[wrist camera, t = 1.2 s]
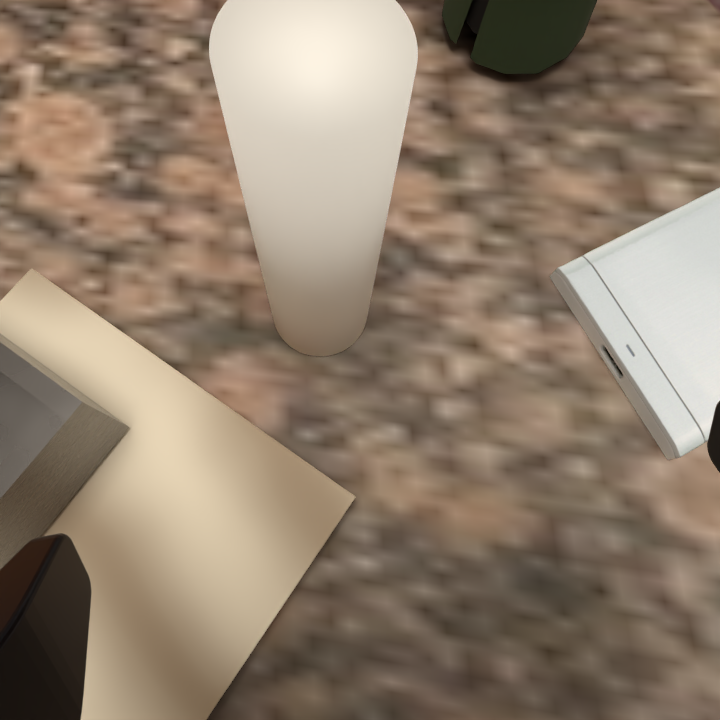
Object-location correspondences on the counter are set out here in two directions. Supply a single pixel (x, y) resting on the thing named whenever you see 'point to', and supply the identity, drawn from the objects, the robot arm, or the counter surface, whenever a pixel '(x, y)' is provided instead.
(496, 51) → the character mug
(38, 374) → the cup bracket
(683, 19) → the counter surface
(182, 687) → the mounting board
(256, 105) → the white tall cylinder
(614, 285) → the hard drive
